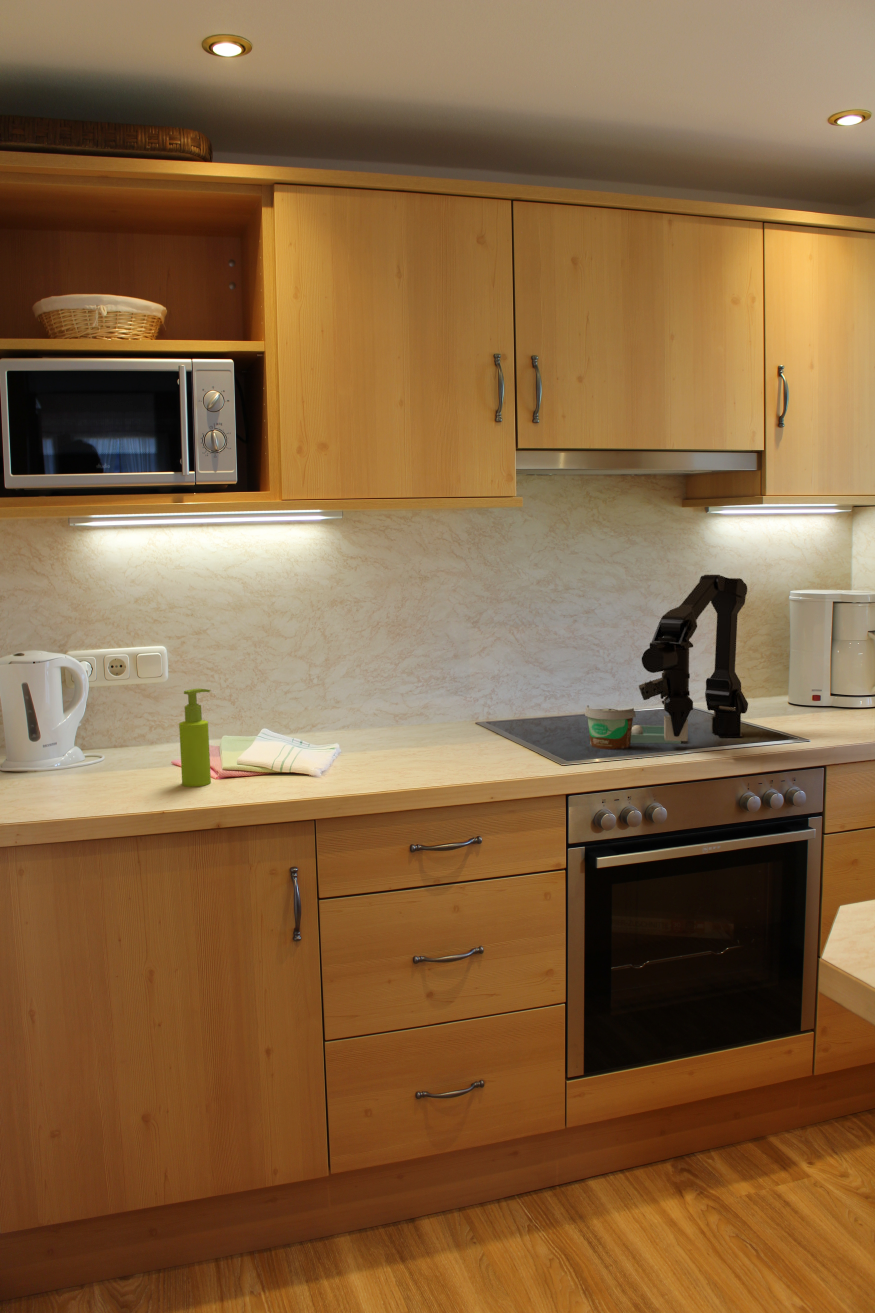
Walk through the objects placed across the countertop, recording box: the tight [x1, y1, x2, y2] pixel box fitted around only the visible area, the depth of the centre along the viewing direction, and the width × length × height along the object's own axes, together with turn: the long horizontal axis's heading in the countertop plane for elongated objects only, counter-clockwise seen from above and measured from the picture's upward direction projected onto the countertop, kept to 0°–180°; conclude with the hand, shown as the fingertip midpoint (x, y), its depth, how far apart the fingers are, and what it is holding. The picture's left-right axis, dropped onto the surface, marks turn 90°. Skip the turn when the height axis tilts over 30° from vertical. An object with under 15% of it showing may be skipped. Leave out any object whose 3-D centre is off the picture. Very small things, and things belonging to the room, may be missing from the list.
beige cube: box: [663, 715, 689, 742], centre depth 219 cm, size 5×5×5 cm
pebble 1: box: [631, 724, 643, 732], centre depth 234 cm, size 3×3×3 cm
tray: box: [630, 725, 682, 745], centre depth 232 cm, size 13×12×2 cm
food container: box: [584, 705, 637, 750], centre depth 222 cm, size 12×6×10 cm, turn 62°
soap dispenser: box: [178, 688, 212, 788], centre depth 196 cm, size 6×7×20 cm
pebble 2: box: [632, 728, 643, 735], centre depth 230 cm, size 3×3×3 cm
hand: (675, 734), depth 219 cm, fingers closed on beige cube, 5 cm apart
